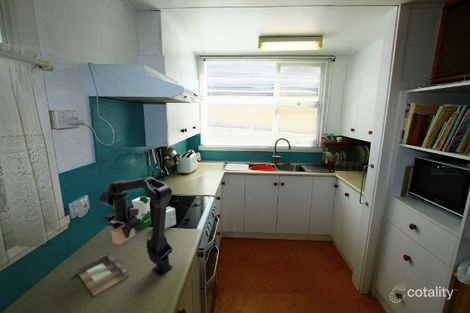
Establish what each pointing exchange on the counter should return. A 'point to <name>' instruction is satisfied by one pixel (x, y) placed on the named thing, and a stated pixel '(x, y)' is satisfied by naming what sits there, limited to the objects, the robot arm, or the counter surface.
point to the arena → (101, 273)
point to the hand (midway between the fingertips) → (124, 236)
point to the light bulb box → (170, 217)
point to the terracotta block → (121, 235)
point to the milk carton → (143, 211)
